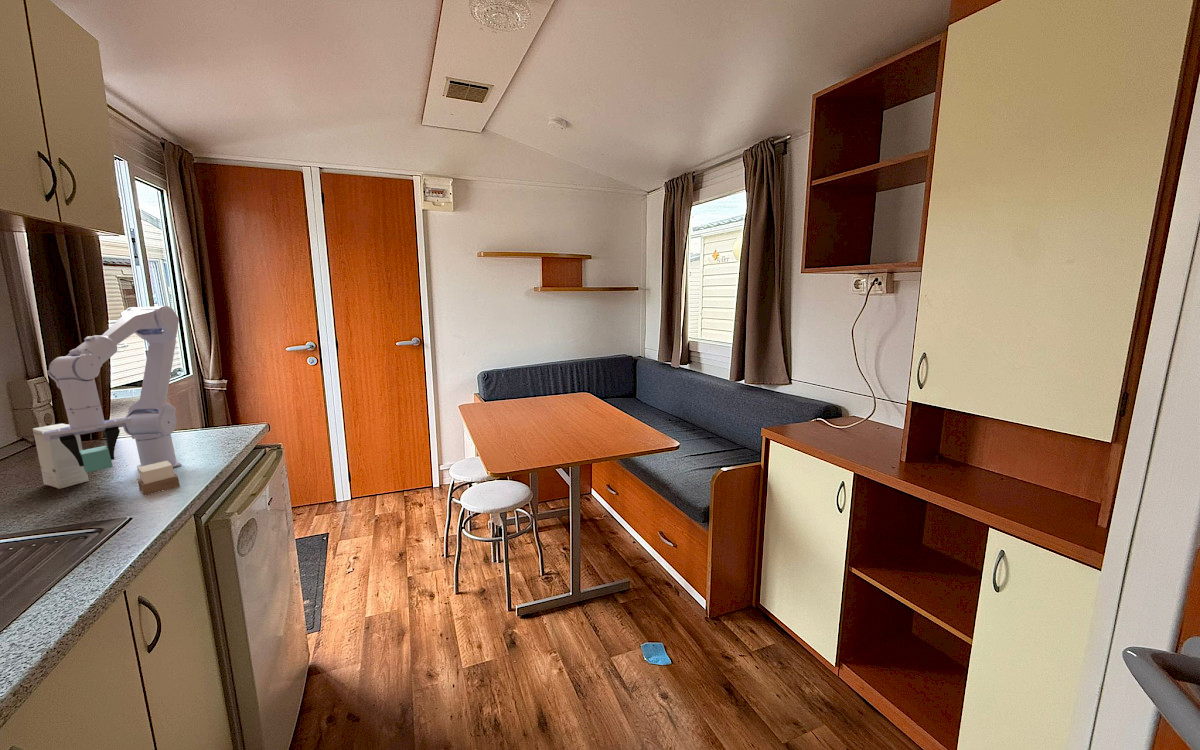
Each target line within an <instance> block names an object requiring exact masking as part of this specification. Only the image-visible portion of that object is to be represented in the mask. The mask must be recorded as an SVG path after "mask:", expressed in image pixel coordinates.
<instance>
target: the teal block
mask: <svg viewBox="0 0 1200 750" xmlns="http://www.w3.org/2000/svg"><path fill="white" fill-rule="evenodd" d="M80 455H81V457H82V460H83V464H84V466H83V467H84V470H85V472H86V473H87V474H88V473H92V472H96V471H102V470H106V469H110V468H113V463H112V460H111V458H110V453H109V449H108V448H107V445H101V446H98V447H97V446H96V447H92V448H86V449H83V450H81V451H80Z"/></svg>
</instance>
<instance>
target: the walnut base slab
mask: <svg viewBox="0 0 1200 750" xmlns="http://www.w3.org/2000/svg"><path fill="white" fill-rule="evenodd" d="M174 475H175V477H171V478H167V479H164V480H160V481H156V482H152V483H148V484H144V483H143V482H142V481H141V480H140V478H137V485H138V489H139V490H140V492H141V491H142V492H141V493H142V495H144V496H145V495H146V496H149V495H152V494H151V493H153V494H156V493H155V492H157V493H159V492H158V491H161V492H163V491H162V490H164V491H168V490H172V489H175V487H176V488H178V487H181V486H180V481H179V476H178V475H177V474H176V473H175V472H174ZM171 488H172V489H171ZM167 489H168V490H167ZM148 494H149V495H148Z"/></svg>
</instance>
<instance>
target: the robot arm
mask: <svg viewBox="0 0 1200 750" xmlns="http://www.w3.org/2000/svg"><path fill="white" fill-rule="evenodd" d="M179 321H180V318H179V317H178V314H177V313H176V312H175V310H174V309H173V308H172V307H170V306H168V305H161V306H142V307H141V306H138V307H136V306H130V307H128V308H126V309H125V310H124V311H122V312H120V318H119V319H117V321H115V323H113V324H112V325H111V326H110V327H109V328H108V329H107V330H106V331H105V332H104V333H102V334H101V335H99V334H98V335H97V334H96V335H92V336H91V335H89V336H86V337H85V338H83V340H84V341H83V342H82V343H81V344H79V345H78V346H76V348H73V349H71V350H69V351H68V352H69V353H68V354H67V355H65V356H57V357H56V358H54V359H53V360H52V361H51V362H50V363H49V365H48V370H47V371H46V372H47V374H48V376H49V377H50V379H52V380H53V381H54V383H55V384H56V388H58V389H59V390H60V393H61V398H62V400H63V405H64V409H65V411H66V417H67V421H68V424H69V425H70V426H69V427H65V428H60V429H56V430H51V431H46V432H42V435H43V439H44V442H46V441H51V440H54V439H60V441H61V443H62V444H63V445H64V446H65V447H66V448H68V450H69V451H70V452H71V453H72V454H73V455H74V456H75V458H76V459H77V461H78V463H79V466H80V467H81V466H84V464H83V460H82V457H81V455H80V452H79V448H78V443H77V440H76V437H75V436H76V435H80V436H81V435H86V434H91V433H95V432H96V433H97V432H102V431H103V435H104V439H105V442H106V446H107V448H108V449H109V453H110V458H111V461H112V460H115V450H116V449H115V448H116V444H117V442H118V438H119V436H120V433H121V432H120V431H121V429H120V428H123V430H124V432H125V433H126V434H127V435H128V436H131V439H132V440H135V445H136V450H137V454H138V458H139V462H140V464H137V465H136V468H137V469H138V467H141V466H146V465H150V464H154V463H159V462H163V461H168V462H169V463H170V464H172V466H173V468H177V467H179V466H182V463H181V462H180V461H179V460H178V459H177V457H176V453H175V452H176V451H175V447H174V443H173V437H172V434H174V431H175V429H176V427H177V423H178V422H177V417H176V410H177V409H176V407H175V406H174V405H172V404H171V403H170V402H168V401H167V400H168V393H169V387H170V382H171V374H172V368H173V362H174V356H175V349H176V344H177V343H176V342H177V334H178V328H179V324H180V323H179ZM134 334H135V335H137V336H138V337H139V338H141V339H142V340H144V341H146V342H147V343H148V349H147V354H146V355H147V356H146V361H145V367H144V372H143V379H142V385H141V389H140V390H141V391H140V395H139V396H140V397H139V399H138V400H137V401H136V402H135V403H133V404H132V405H130V406H128V411H127V413H126V415H125V417H123V418H115V419H114V418H113V419H106V420H105V417H104V413H103V409H102V405H101V401H100V396H99V392H98V389H97V384H96V380H95V378H97V377H98V376H99V374H100V372H101V367H103V364H104V363H106V362H107V361H108V360H110V359H111V357H113V356H114V355H115V354H116V353H117V352H118V345H119V344H120V343H121V342H123V341H124V340H126V339H127V338H129V337H130V336H132V335H134Z"/></svg>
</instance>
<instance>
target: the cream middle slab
mask: <svg viewBox="0 0 1200 750" xmlns="http://www.w3.org/2000/svg"><path fill="white" fill-rule="evenodd" d="M137 472H138V476H139V479H140V480H141V481H142V482H143V483H144V484H148V483H152V482H156V481H160V480H164V479H167V478H171V477H175V475H174V473H175V471H174V467H173V466H172V464H170V463H169V462H168V461H163V462H159V463H154V464H150V465H146V466H141V467H138V468H137Z"/></svg>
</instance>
